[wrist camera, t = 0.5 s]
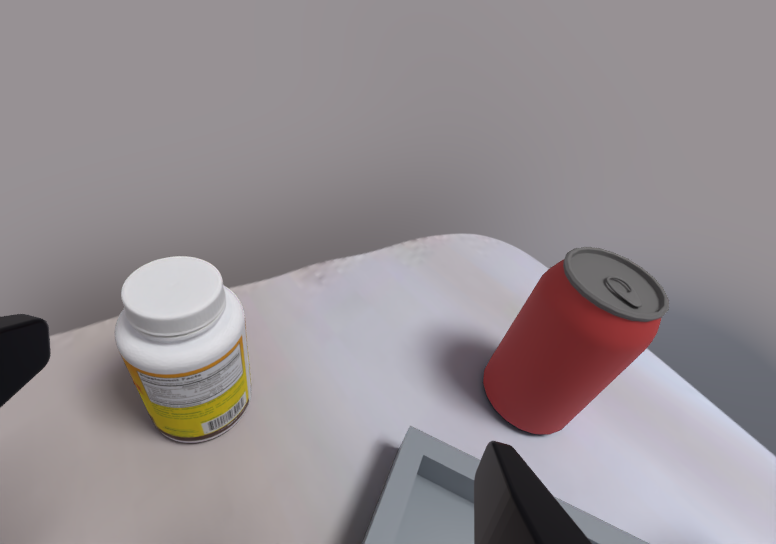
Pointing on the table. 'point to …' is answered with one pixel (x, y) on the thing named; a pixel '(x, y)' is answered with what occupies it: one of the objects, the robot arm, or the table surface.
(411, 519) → the sorting tray
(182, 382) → the supplement bottle
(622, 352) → the beer can
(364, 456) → the table surface
